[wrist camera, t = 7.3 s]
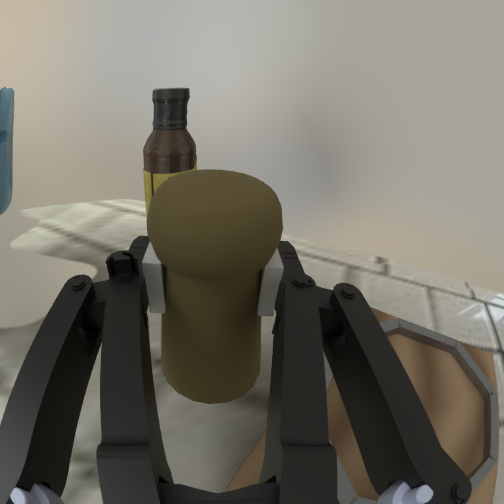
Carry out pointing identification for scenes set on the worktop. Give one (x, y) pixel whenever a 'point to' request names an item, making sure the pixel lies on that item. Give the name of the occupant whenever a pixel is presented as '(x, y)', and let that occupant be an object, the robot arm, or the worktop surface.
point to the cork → (213, 278)
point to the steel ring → (345, 492)
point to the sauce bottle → (168, 140)
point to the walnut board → (435, 404)
